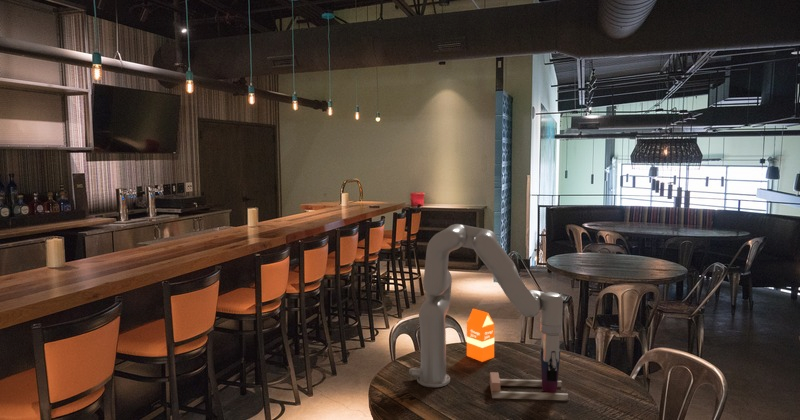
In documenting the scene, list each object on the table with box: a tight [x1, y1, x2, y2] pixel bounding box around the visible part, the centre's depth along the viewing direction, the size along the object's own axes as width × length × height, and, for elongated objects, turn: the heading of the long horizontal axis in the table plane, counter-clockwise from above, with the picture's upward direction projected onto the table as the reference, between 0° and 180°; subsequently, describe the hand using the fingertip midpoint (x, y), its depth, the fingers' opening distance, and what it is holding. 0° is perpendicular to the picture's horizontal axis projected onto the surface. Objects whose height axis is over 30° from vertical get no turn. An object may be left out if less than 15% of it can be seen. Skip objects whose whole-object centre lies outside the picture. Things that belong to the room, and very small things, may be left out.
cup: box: [540, 346, 561, 393], centre depth 184 cm, size 7×7×15 cm
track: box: [489, 371, 569, 401], centre depth 185 cm, size 26×11×5 cm, turn 84°
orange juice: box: [466, 308, 495, 363], centre depth 217 cm, size 8×9×20 cm
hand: (549, 376), depth 184 cm, fingers closed on cup, 6 cm apart
